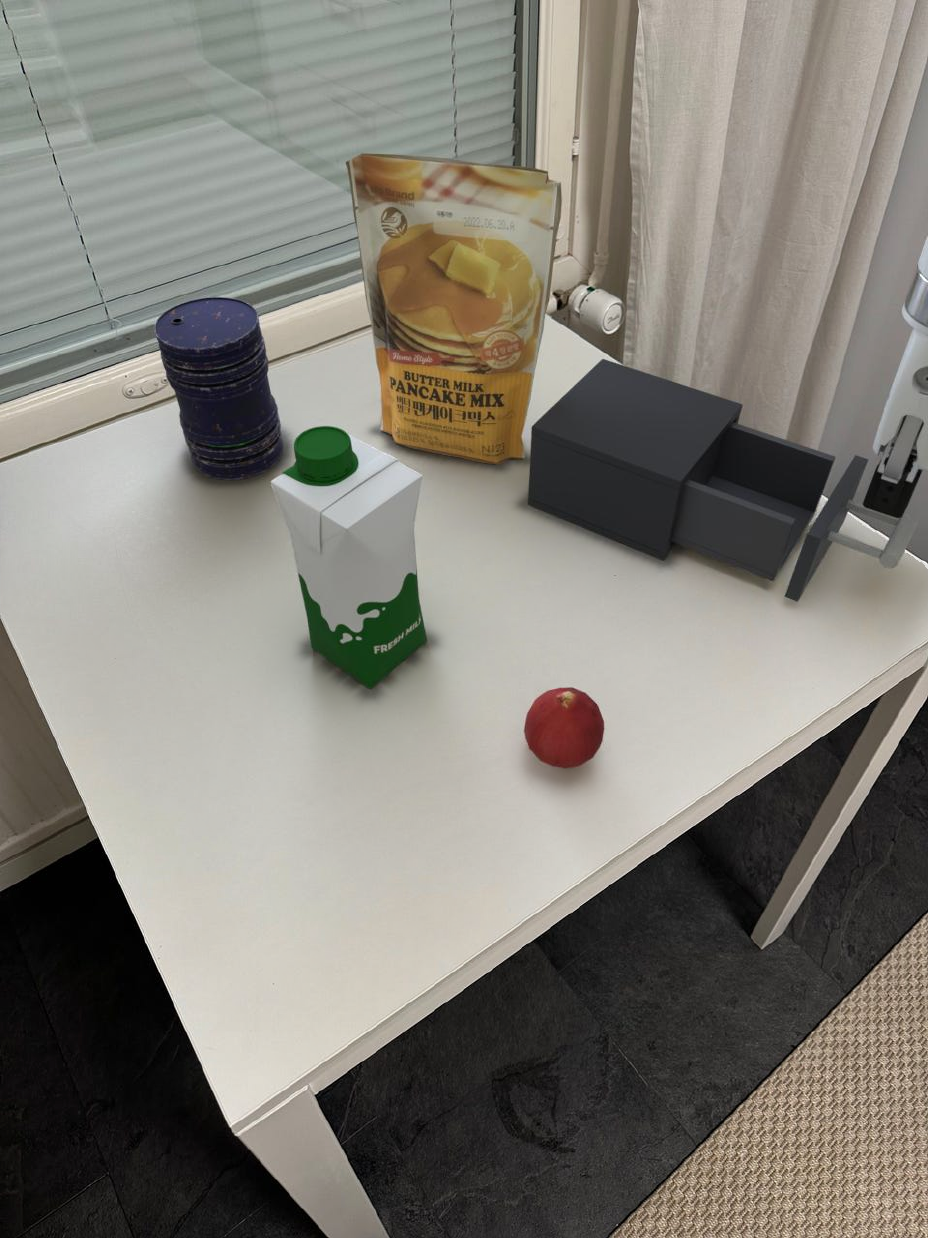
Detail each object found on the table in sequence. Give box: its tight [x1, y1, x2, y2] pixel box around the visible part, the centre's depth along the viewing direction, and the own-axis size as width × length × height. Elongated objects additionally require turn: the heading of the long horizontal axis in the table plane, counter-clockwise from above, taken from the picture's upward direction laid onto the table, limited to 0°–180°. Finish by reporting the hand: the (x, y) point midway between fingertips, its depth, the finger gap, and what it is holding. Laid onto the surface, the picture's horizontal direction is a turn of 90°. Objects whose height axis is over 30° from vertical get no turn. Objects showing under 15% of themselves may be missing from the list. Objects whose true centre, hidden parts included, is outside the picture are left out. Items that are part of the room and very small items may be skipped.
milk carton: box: [270, 425, 428, 690], centre depth 69 cm, size 9×9×20 cm
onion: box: [523, 686, 605, 769], centre depth 65 cm, size 6×6×8 cm
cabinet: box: [527, 358, 743, 561], centre depth 86 cm, size 15×14×9 cm
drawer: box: [671, 422, 919, 603], centre depth 80 cm, size 20×13×7 cm, turn 56°
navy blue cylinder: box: [153, 296, 285, 481], centre depth 89 cm, size 10×10×15 cm
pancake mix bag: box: [345, 152, 563, 466], centre depth 86 cm, size 7×19×28 cm, turn 71°
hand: (884, 507), depth 74 cm, fingers closed
